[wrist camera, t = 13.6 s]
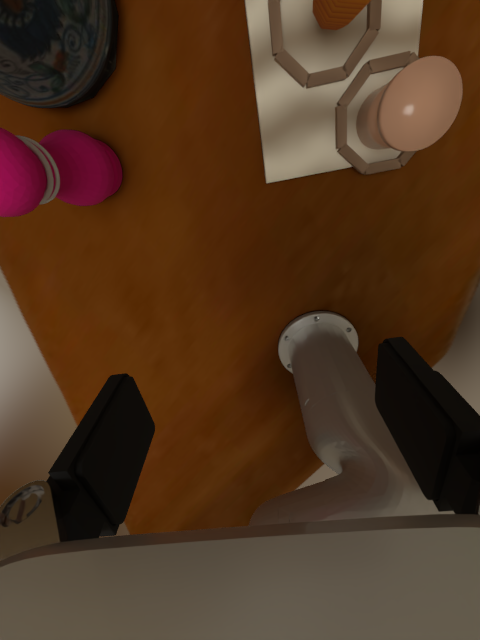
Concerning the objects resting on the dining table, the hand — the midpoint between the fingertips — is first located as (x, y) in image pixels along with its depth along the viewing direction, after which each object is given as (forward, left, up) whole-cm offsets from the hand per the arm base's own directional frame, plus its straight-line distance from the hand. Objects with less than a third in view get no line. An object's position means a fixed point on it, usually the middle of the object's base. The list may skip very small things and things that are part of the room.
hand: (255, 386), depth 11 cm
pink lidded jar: (+9, -16, -29) cm, 34 cm away
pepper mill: (+10, +17, -31) cm, 36 cm away
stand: (+16, -12, -30) cm, 36 cm away
